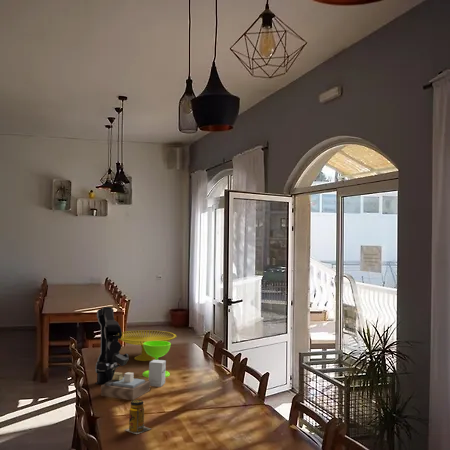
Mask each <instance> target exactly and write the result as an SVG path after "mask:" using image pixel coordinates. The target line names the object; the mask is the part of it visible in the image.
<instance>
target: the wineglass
mask: <svg viewBox="0 0 450 450" xmlns="http://www.w3.org/2000/svg"><path fill="white" fill-rule="evenodd" d="M171 345H172V343H171V342H170V341H168V342H167V341H147V342H144V343H143V347H144V350H145V351H146V353H147V354H148V355H150V356H152V357H155V360H159V358H161V357H162V358H163V357H164V356H165V355H167V354H168V352H169V351H170V349H171ZM141 375H142V376H143V377H144V378H148V379H149V369H147V370H145V371H144V372H142V374H141ZM170 375H171V373H170V372H169V371H168V370H166V371H165V378H167V377H169V376H170Z"/></svg>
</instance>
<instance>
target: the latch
mask: <svg viewBox="0 0 450 450" xmlns="http://www.w3.org/2000/svg"><path fill="white" fill-rule="evenodd" d="M123 376H124V372H120V371H119V372H118V371H115V373H114V376H113V379H112V380H118V381H119V380H121V379H123Z"/></svg>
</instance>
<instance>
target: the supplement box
mask: <svg viewBox="0 0 450 450" xmlns="http://www.w3.org/2000/svg"><path fill="white" fill-rule="evenodd" d="M148 362H149V363H148V370H149V378H148V381H150V387H158V388H159V387H160V388H161V387H163V386H164V385H165V384H166V377H165V371H167V370H166V369H167V368H166V365H167V360H164V359H158V360H151V361H148Z"/></svg>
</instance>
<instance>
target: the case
mask: <svg viewBox="0 0 450 450" xmlns="http://www.w3.org/2000/svg"><path fill="white" fill-rule="evenodd" d="M123 378H124V375H123ZM144 380H145V379H144ZM115 381H117V380H111V381H108V382H106V383H105V384H104V385H100V397H109V398H115V399H122V400H128V401H133V400H137V398H139V397H141V396H143V395H145V394H146V393H148V392H150V391H151V386H150V381H149V380H145V382H144V383H142V384H140V385H138V386H136V387H134V388H130V387H122V386H115V385H112V383H113V382H115Z"/></svg>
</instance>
